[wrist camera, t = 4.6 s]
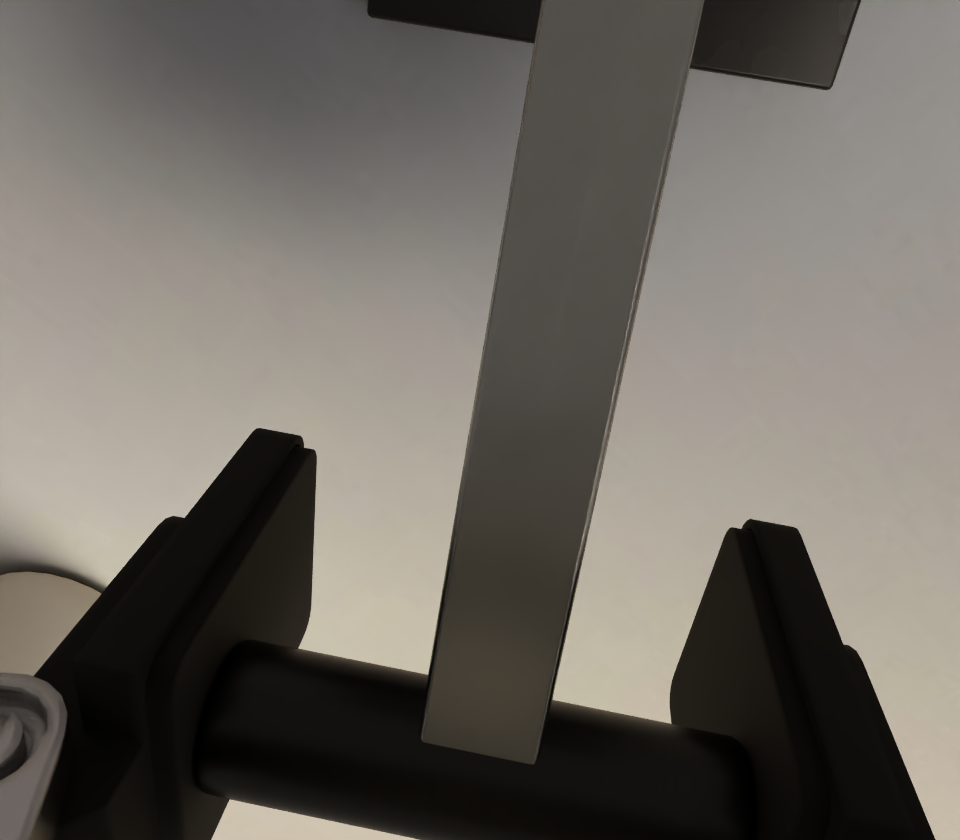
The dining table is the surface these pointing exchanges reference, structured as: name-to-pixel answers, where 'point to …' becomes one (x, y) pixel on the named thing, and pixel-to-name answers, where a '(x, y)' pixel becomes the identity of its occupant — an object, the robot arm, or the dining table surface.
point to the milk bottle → (37, 617)
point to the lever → (514, 518)
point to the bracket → (719, 43)
